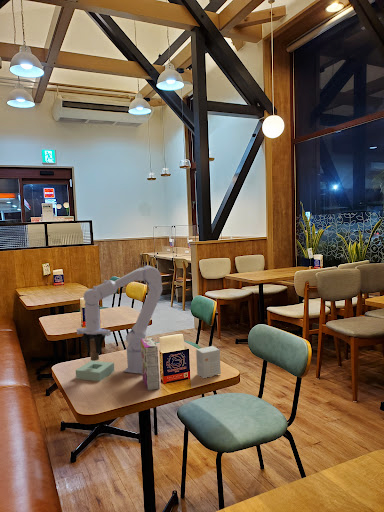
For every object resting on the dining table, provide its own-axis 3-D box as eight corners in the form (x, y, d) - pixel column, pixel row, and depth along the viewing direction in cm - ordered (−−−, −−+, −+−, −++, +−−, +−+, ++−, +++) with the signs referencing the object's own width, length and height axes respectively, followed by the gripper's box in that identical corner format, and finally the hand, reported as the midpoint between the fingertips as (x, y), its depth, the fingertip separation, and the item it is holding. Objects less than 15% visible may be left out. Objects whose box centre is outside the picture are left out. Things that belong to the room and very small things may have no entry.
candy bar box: (141, 379, 148) (139, 338, 147) (154, 377, 150) (152, 337, 148) (146, 391, 138) (144, 347, 136) (160, 389, 139) (158, 345, 138)
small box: (214, 370, 155) (213, 345, 154) (221, 375, 150) (220, 349, 149) (196, 374, 151) (195, 348, 151) (203, 379, 146) (202, 352, 146)
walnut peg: (100, 358, 154) (99, 338, 153) (96, 360, 151) (95, 341, 150) (93, 357, 155) (92, 338, 154) (89, 360, 152) (88, 340, 151)
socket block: (114, 370, 158) (113, 362, 158) (100, 381, 148) (99, 372, 148) (91, 368, 162) (91, 360, 161) (76, 378, 151) (75, 370, 151)
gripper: (71, 320, 150) (73, 354, 151) (103, 322, 146) (105, 356, 147) (81, 316, 157) (83, 348, 158) (112, 317, 152) (114, 350, 153)
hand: (94, 352), depth 153 cm, fingers closed on walnut peg, 3 cm apart
